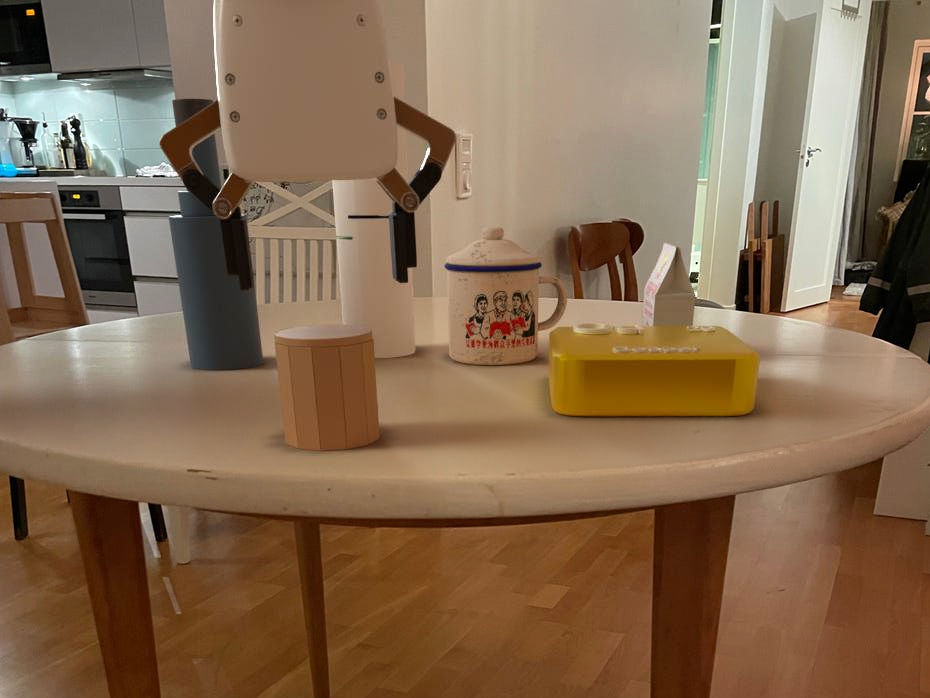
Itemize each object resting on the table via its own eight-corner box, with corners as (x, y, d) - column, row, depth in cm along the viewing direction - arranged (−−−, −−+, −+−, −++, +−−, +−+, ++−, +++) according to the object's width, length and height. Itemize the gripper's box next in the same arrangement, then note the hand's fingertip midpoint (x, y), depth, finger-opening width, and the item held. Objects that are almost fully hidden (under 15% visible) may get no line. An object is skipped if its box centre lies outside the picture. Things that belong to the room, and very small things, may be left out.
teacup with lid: (461, 369, 85) (458, 231, 79) (436, 353, 92) (432, 226, 87) (582, 361, 88) (587, 227, 82) (548, 346, 95) (551, 223, 90)
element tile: (552, 417, 67) (553, 350, 65) (547, 377, 80) (549, 320, 78) (759, 417, 66) (768, 349, 64) (720, 377, 80) (726, 319, 78)
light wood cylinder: (285, 453, 59) (272, 340, 56) (286, 429, 65) (274, 326, 62) (382, 447, 60) (375, 336, 57) (375, 424, 66) (368, 322, 63)
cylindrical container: (398, 359, 89) (383, 57, 78) (332, 356, 91) (309, 61, 80) (425, 347, 95) (415, 65, 84) (363, 344, 97) (345, 69, 86)
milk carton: (676, 349, 93) (685, 242, 88) (689, 361, 87) (699, 246, 82) (640, 350, 93) (647, 242, 88) (650, 362, 87) (658, 247, 82)
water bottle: (187, 371, 85) (145, 97, 75) (194, 359, 91) (156, 103, 81) (262, 368, 86) (230, 97, 76) (264, 356, 92) (235, 103, 82)
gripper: (439, -33, 55) (450, 273, 63) (140, -34, 52) (190, 285, 60) (458, -62, 48) (469, 284, 56) (117, -65, 46) (177, 297, 54)
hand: (324, 284), depth 58 cm, fingers open, 9 cm apart
